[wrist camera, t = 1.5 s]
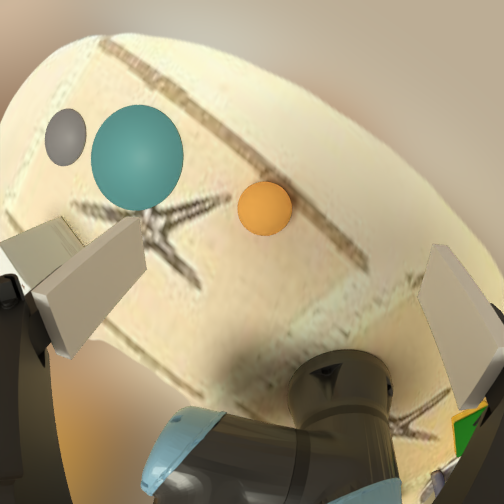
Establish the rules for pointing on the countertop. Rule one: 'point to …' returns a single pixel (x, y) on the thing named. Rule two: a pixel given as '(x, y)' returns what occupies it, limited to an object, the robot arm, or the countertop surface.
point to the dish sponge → (465, 427)
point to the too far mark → (65, 137)
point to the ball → (264, 208)
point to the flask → (437, 481)
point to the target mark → (137, 157)
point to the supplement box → (38, 252)
